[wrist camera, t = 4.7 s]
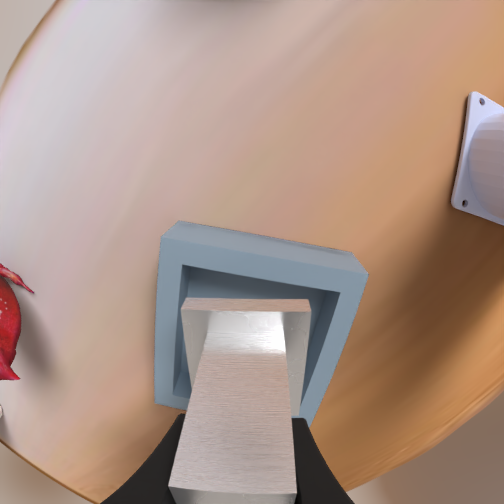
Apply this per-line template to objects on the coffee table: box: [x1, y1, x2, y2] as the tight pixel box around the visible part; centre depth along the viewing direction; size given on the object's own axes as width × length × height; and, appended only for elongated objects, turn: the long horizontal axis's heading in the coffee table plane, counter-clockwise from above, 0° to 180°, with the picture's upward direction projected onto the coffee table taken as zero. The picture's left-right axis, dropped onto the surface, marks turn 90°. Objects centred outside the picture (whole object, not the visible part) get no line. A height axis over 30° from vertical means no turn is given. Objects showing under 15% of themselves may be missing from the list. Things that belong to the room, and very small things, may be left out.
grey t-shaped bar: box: [168, 297, 311, 504], centre depth 10 cm, size 5×6×8 cm
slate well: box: [154, 221, 369, 427], centre depth 19 cm, size 10×11×4 cm
